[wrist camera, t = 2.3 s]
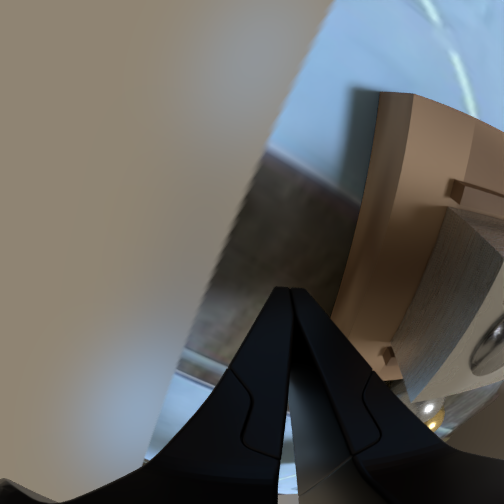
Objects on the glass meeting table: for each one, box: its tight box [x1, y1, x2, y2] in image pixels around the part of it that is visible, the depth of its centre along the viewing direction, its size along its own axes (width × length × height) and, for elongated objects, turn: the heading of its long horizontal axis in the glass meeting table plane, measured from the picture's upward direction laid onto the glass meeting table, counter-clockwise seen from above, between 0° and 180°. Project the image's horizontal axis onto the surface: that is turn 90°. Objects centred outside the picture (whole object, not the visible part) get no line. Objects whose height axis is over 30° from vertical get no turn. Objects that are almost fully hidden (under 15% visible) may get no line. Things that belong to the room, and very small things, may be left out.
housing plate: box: [330, 92, 504, 381], centre depth 10 cm, size 12×14×3 cm
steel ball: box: [390, 379, 446, 423], centre depth 14 cm, size 4×4×4 cm
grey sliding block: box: [391, 207, 504, 403], centre depth 7 cm, size 6×6×3 cm
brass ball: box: [424, 406, 445, 432], centre depth 16 cm, size 4×4×4 cm
